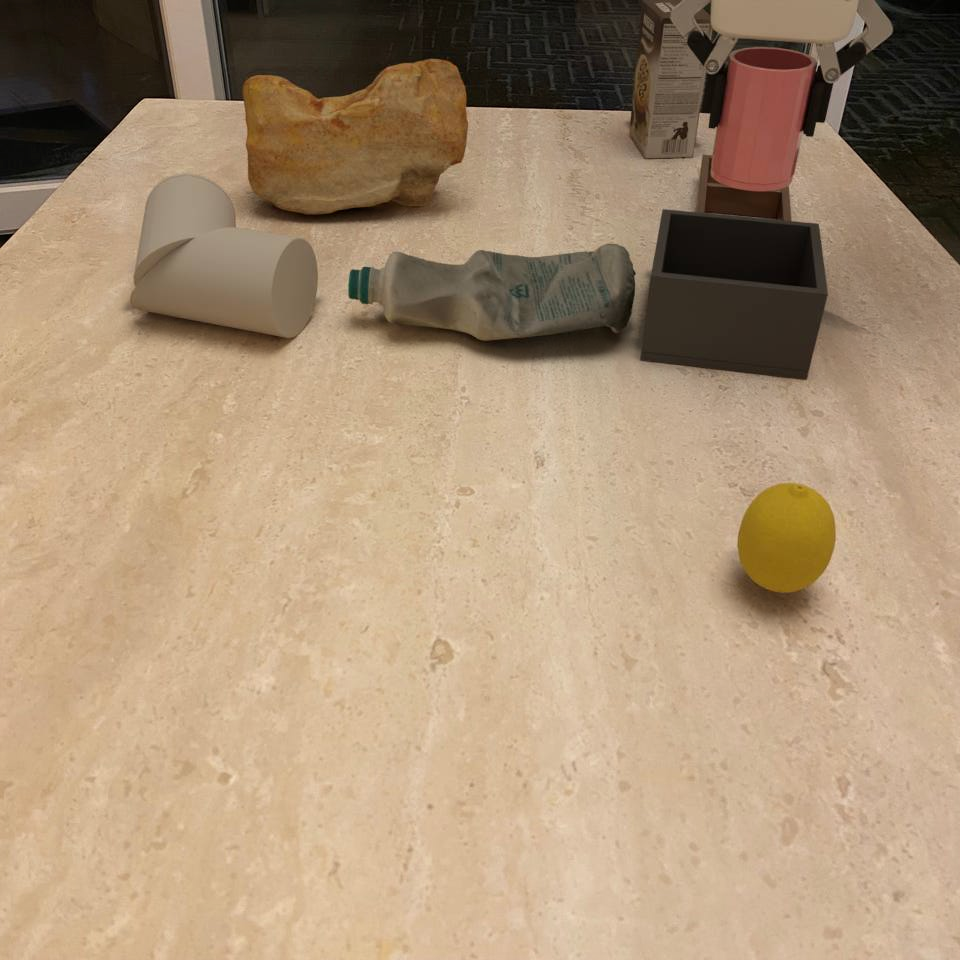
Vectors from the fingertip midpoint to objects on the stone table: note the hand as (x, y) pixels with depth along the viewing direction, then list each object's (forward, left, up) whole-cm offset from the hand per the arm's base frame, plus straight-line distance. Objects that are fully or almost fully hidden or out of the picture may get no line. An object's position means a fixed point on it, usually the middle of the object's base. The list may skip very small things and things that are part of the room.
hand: (760, 125), depth 78 cm
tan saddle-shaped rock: (+9, -45, -18) cm, 49 cm away
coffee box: (-29, -36, -18) cm, 50 cm away
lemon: (+23, +24, -18) cm, 38 cm away
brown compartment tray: (-21, -16, -18) cm, 32 cm away
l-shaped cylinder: (+33, -32, -18) cm, 49 cm away
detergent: (+16, -13, -18) cm, 27 cm away
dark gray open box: (0, 0, -18) cm, 18 cm away
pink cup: (0, 0, -4) cm, 4 cm away
